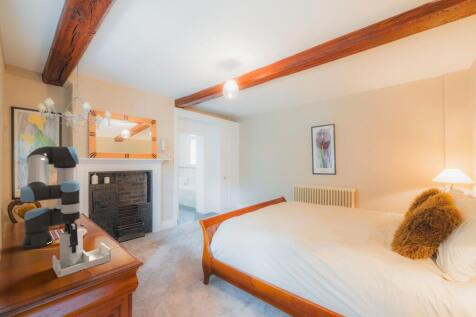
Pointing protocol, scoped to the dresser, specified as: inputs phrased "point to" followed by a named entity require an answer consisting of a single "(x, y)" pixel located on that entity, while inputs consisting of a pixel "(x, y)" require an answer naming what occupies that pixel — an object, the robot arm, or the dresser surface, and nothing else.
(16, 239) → the dresser surface
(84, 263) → the caddy rack
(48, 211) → the robot arm
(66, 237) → the skincare box
